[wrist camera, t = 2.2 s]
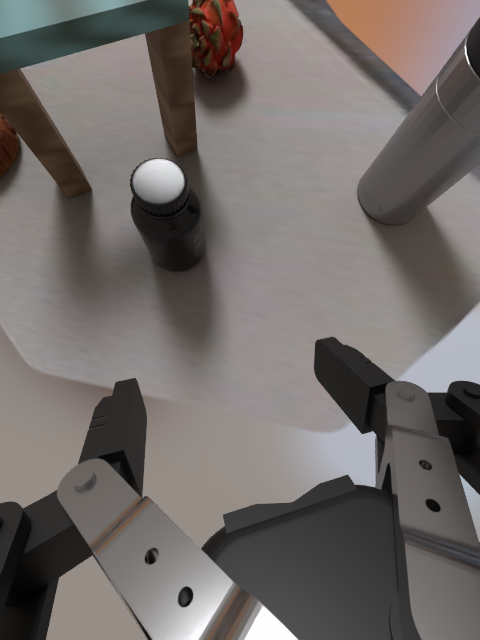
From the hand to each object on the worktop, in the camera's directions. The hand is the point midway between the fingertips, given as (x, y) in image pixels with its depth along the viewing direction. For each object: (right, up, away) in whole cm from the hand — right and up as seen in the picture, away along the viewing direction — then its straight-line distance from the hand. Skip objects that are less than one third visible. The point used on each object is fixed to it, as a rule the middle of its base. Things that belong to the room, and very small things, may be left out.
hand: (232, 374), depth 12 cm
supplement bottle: (-8, +11, +23) cm, 27 cm away
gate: (-14, +24, +25) cm, 37 cm away
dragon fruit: (-4, +41, +30) cm, 51 cm away
